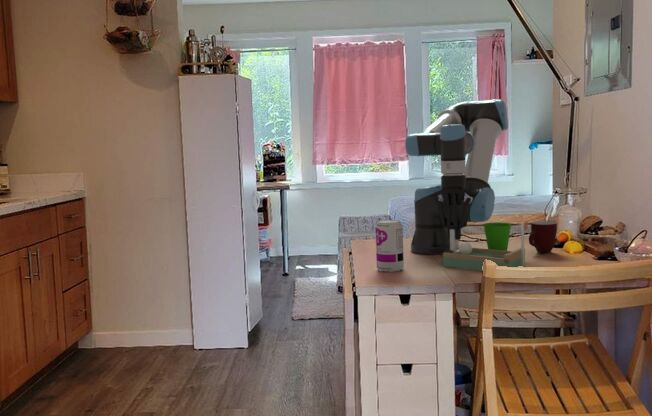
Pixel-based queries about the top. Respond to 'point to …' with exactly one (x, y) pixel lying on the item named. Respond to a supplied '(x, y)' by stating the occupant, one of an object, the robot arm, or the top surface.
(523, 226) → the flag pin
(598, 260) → the top surface
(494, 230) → the cup
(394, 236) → the supplement can
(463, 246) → the ball
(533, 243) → the mug
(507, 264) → the green tray
